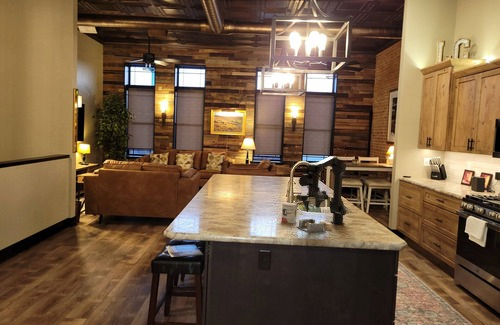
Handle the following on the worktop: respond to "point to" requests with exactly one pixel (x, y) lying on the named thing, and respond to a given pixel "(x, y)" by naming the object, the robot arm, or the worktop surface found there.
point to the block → (327, 225)
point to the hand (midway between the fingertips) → (312, 211)
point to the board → (313, 208)
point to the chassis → (311, 226)
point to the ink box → (289, 212)
